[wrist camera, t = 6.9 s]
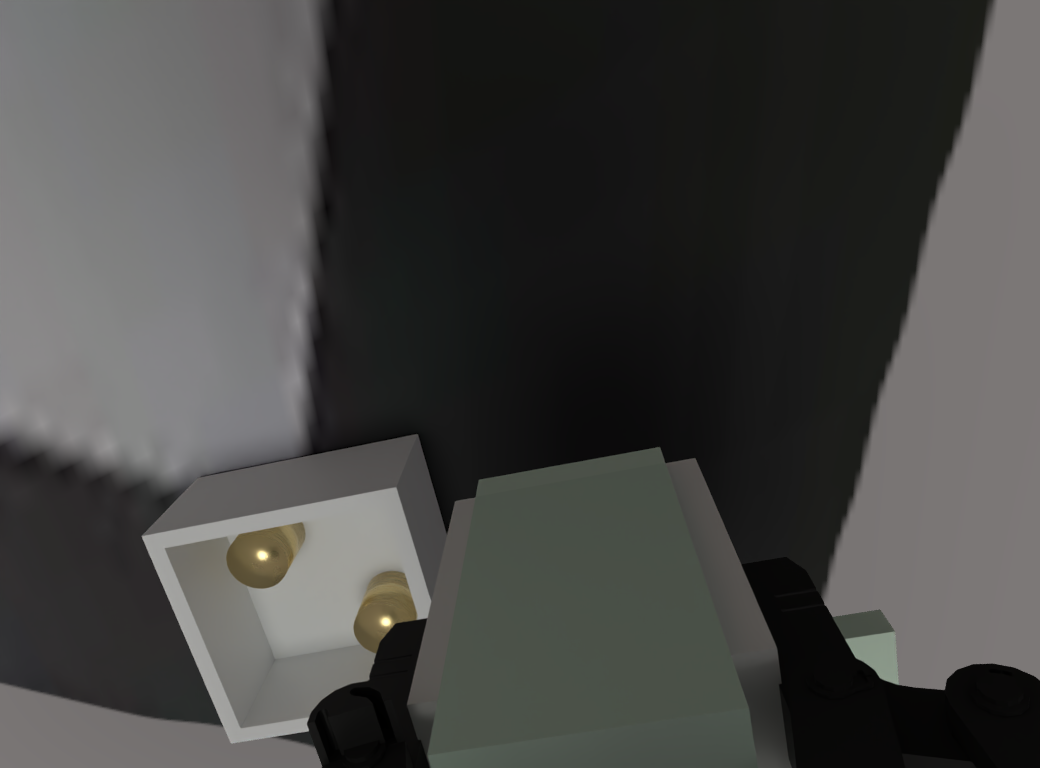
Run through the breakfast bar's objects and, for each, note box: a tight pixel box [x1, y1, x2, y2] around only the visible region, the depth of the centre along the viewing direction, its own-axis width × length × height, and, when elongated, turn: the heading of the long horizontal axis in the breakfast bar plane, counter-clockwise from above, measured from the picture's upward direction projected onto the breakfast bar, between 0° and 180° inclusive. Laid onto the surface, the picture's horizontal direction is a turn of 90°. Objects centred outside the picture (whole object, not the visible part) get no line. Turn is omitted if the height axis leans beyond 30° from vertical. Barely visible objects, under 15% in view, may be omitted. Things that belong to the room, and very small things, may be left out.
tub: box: [142, 434, 447, 743], centre depth 39 cm, size 12×12×6 cm
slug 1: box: [226, 522, 305, 589], centre depth 39 cm, size 3×3×3 cm
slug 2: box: [353, 571, 418, 653], centre depth 40 cm, size 3×3×3 cm
